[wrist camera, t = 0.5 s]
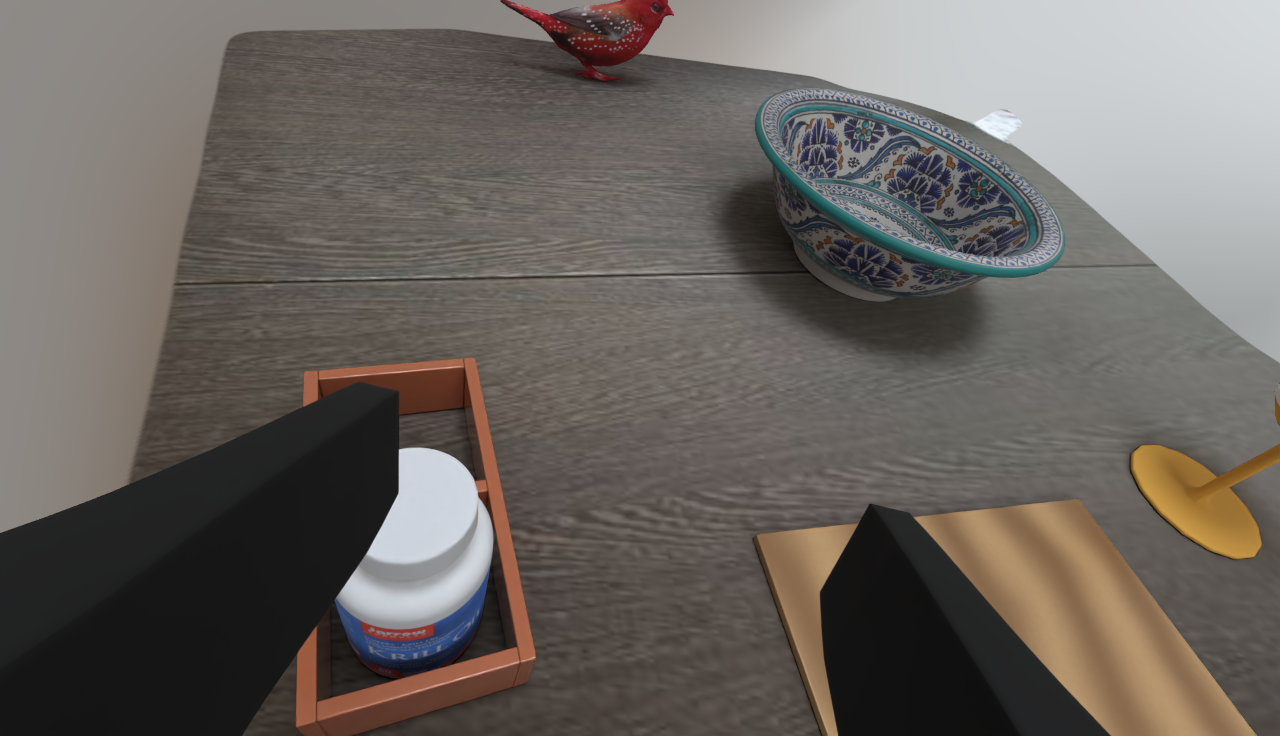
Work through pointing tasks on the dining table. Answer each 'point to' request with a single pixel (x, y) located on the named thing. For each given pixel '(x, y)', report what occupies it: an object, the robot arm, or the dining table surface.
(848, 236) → the bowl
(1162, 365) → the dining table surface
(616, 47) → the decorative bird figurine
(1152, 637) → the mat
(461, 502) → the pill bottle
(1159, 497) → the cup
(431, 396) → the holder
